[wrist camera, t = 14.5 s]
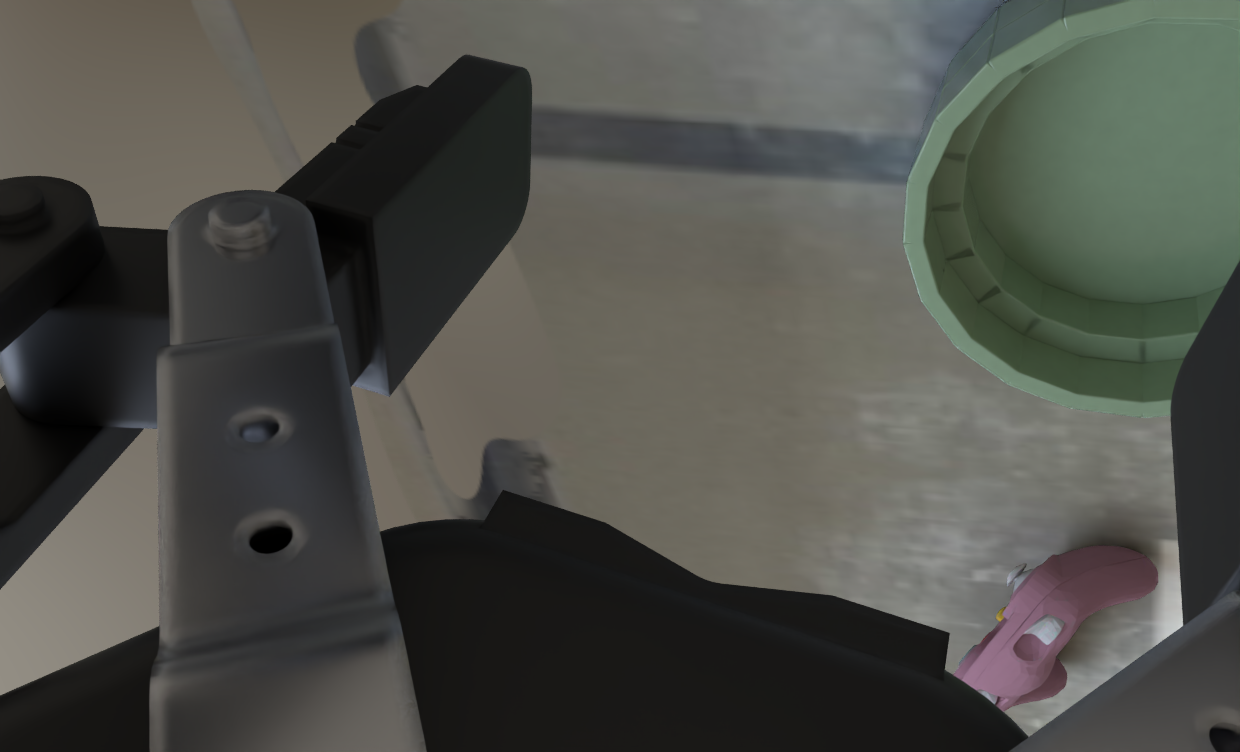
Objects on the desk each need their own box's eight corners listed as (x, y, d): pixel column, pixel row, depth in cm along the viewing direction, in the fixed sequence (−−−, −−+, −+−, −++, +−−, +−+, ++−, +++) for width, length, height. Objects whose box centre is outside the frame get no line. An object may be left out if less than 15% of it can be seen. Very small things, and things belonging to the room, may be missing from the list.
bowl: (876, 14, 36) (849, 74, 32) (1398, -139, 29) (1438, -84, 25) (974, 354, 43) (961, 434, 39) (1414, 298, 36) (1448, 391, 32)
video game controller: (1082, 495, 47) (1002, 572, 43) (1175, 564, 45) (1101, 652, 41) (989, 618, 54) (912, 695, 50) (1066, 684, 52) (993, 769, 48)
